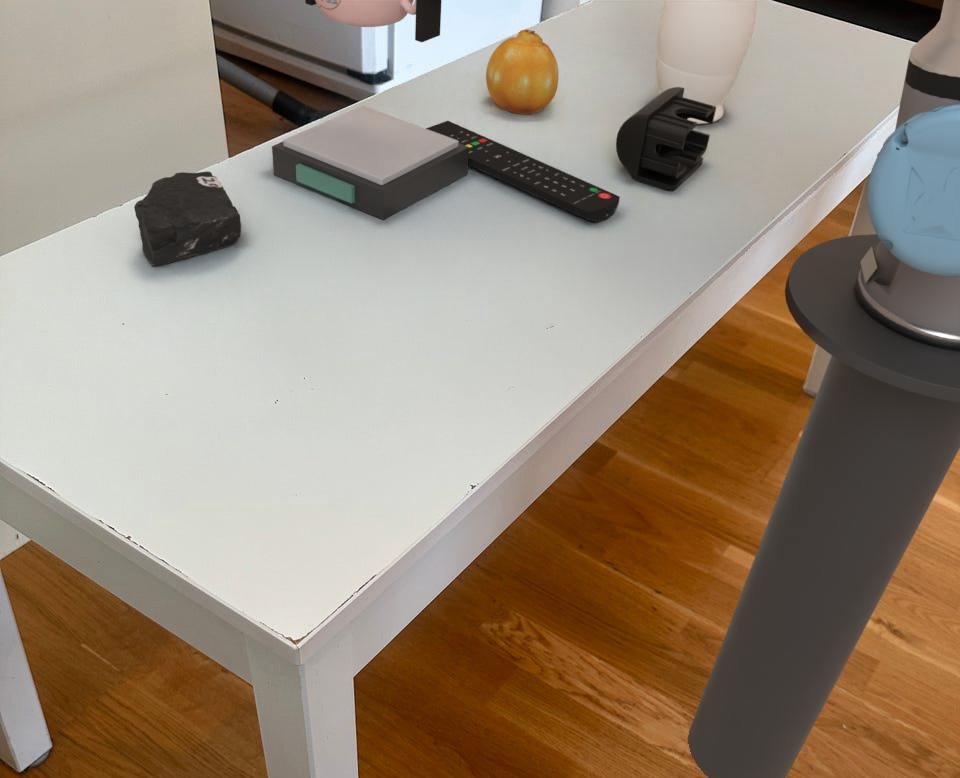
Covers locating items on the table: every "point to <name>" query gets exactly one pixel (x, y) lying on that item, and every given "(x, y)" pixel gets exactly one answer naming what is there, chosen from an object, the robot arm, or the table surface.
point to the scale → (371, 161)
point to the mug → (367, 11)
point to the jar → (703, 47)
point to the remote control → (533, 175)
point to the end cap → (664, 140)
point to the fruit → (522, 74)
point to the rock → (186, 218)
